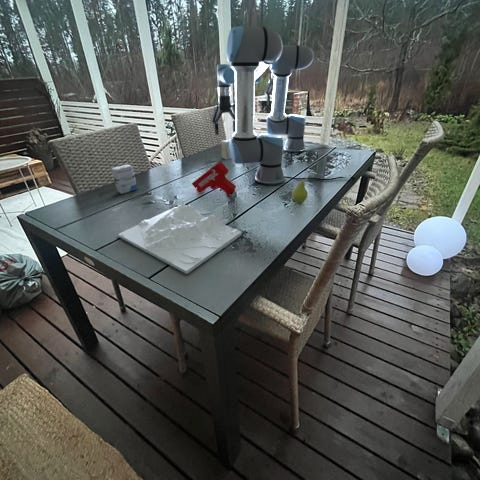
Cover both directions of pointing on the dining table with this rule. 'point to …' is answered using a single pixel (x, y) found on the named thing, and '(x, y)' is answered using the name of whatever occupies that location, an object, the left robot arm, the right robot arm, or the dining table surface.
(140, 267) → the dining table surface
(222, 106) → the left robot arm
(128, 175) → the ink box
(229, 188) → the toy gun
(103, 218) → the dining table surface
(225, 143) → the box
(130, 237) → the relief map
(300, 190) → the fruit
